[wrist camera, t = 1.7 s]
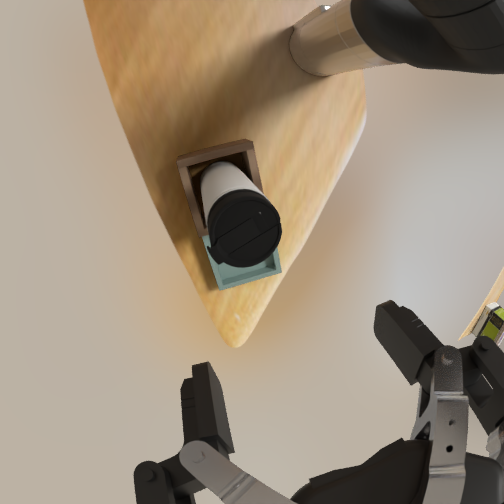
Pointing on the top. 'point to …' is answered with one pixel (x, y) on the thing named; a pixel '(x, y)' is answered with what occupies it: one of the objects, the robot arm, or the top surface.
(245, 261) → the travel mug
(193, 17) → the top surface
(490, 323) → the tea box
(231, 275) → the tray
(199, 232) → the holder
